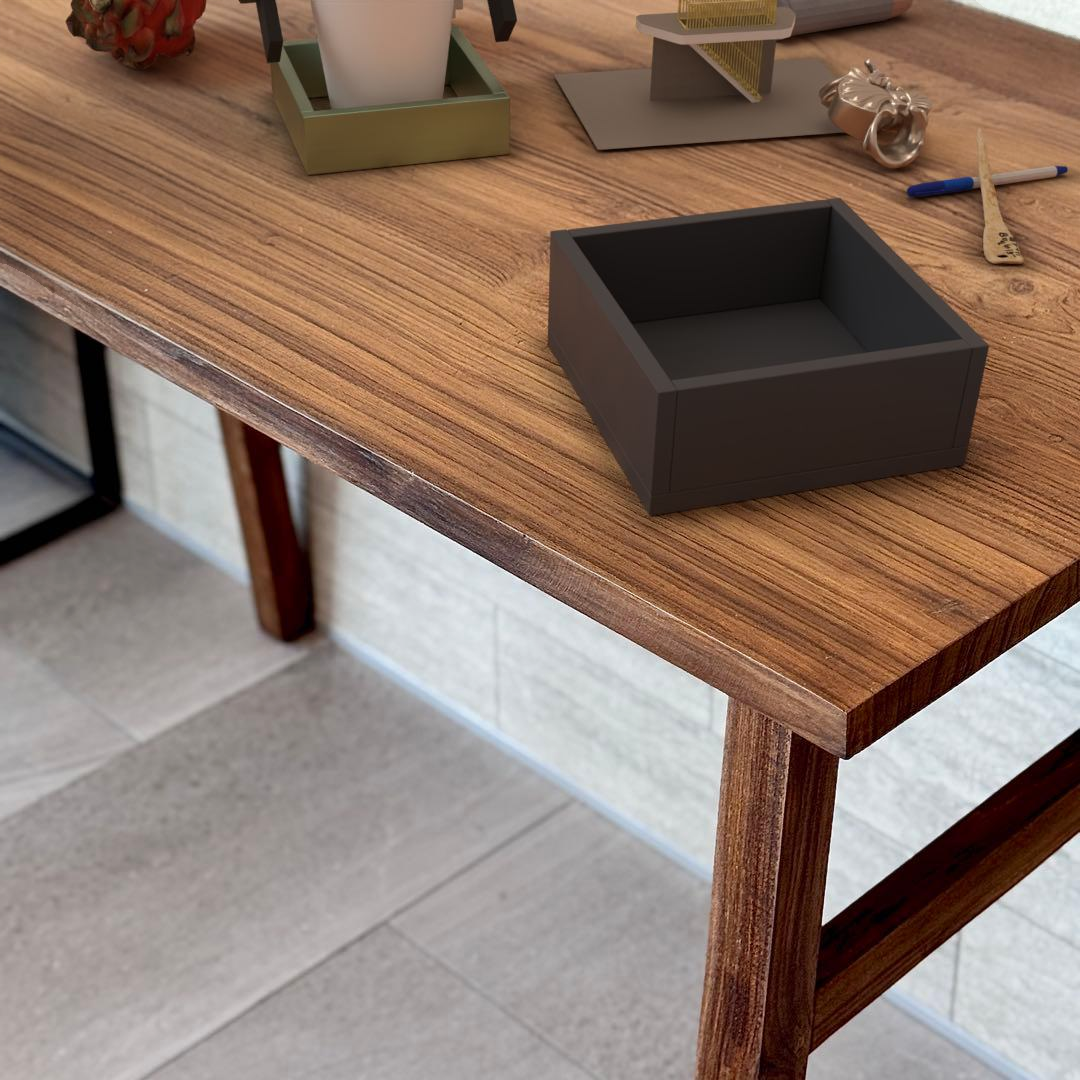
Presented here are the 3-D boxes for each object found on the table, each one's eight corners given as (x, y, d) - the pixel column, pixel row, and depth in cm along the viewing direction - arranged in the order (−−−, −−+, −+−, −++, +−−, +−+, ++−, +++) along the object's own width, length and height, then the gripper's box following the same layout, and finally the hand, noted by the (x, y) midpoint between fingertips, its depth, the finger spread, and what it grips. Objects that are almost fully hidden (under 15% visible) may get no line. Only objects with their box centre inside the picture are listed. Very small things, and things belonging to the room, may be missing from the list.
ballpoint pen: (903, 198, 95) (912, 205, 94) (905, 183, 94) (914, 190, 93) (1061, 171, 98) (1071, 178, 97) (1064, 157, 97) (1074, 164, 96)
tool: (997, 133, 98) (962, 132, 98) (999, 122, 97) (965, 120, 97) (1022, 273, 88) (984, 272, 88) (1025, 262, 88) (986, 260, 88)
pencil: (781, 49, 113) (791, 8, 111) (757, 27, 115) (767, -13, 113) (911, 27, 118) (923, -13, 116) (886, 7, 120) (898, -33, 118)
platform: (885, 129, 102) (901, 22, 98) (597, 149, 98) (602, 40, 94) (817, 58, 111) (830, -42, 107) (553, 74, 108) (556, -28, 104)
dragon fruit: (118, 119, 105) (150, 75, 115) (223, 37, 103) (245, 0, 113) (23, 5, 101) (64, -29, 112) (129, -81, 99) (161, -108, 110)
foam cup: (283, 143, 99) (266, -83, 91) (344, 86, 106) (333, -127, 98) (434, 166, 97) (430, -63, 89) (486, 107, 104) (486, -110, 96)
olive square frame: (307, 175, 95) (303, 117, 93) (272, 96, 104) (268, 41, 102) (509, 154, 98) (510, 97, 96) (458, 79, 107) (458, 25, 105)
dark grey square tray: (649, 516, 69) (658, 392, 66) (547, 344, 80) (550, 230, 77) (965, 465, 73) (990, 345, 69) (825, 307, 84) (840, 196, 80)
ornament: (950, 173, 99) (977, 120, 97) (857, 174, 96) (882, 118, 94) (882, 100, 104) (905, 47, 102) (791, 98, 101) (813, 44, 98)
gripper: (516, -266, 105) (582, 51, 103) (113, -248, 99) (173, 89, 97) (543, -346, 98) (614, -7, 96) (109, -332, 92) (174, 30, 90)
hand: (392, 42), depth 96 cm, fingers open, 13 cm apart
